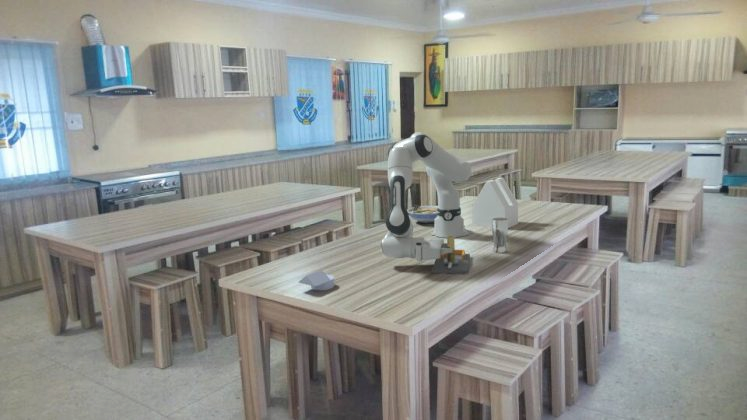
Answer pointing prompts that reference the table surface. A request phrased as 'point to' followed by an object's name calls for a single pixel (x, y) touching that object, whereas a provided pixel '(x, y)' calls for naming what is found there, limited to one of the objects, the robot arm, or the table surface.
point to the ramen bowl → (423, 213)
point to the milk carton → (495, 204)
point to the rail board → (455, 269)
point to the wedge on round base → (319, 280)
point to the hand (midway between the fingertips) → (453, 248)
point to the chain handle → (451, 256)
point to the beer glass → (499, 234)
